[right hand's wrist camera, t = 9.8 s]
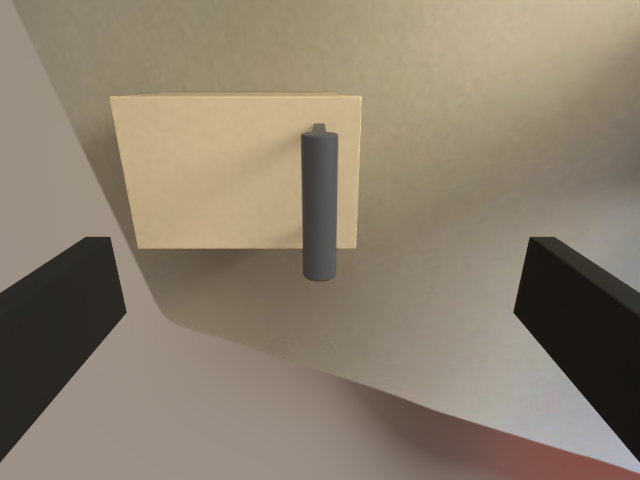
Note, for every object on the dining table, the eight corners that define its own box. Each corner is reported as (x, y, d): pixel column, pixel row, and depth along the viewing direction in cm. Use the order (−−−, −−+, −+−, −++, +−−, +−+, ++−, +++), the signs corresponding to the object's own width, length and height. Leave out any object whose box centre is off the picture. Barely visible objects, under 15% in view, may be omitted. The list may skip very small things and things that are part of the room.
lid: (360, 95, 24) (379, 101, 16) (354, 242, 28) (368, 305, 20) (117, 95, 24) (19, 102, 16) (144, 242, 28) (74, 306, 20)
